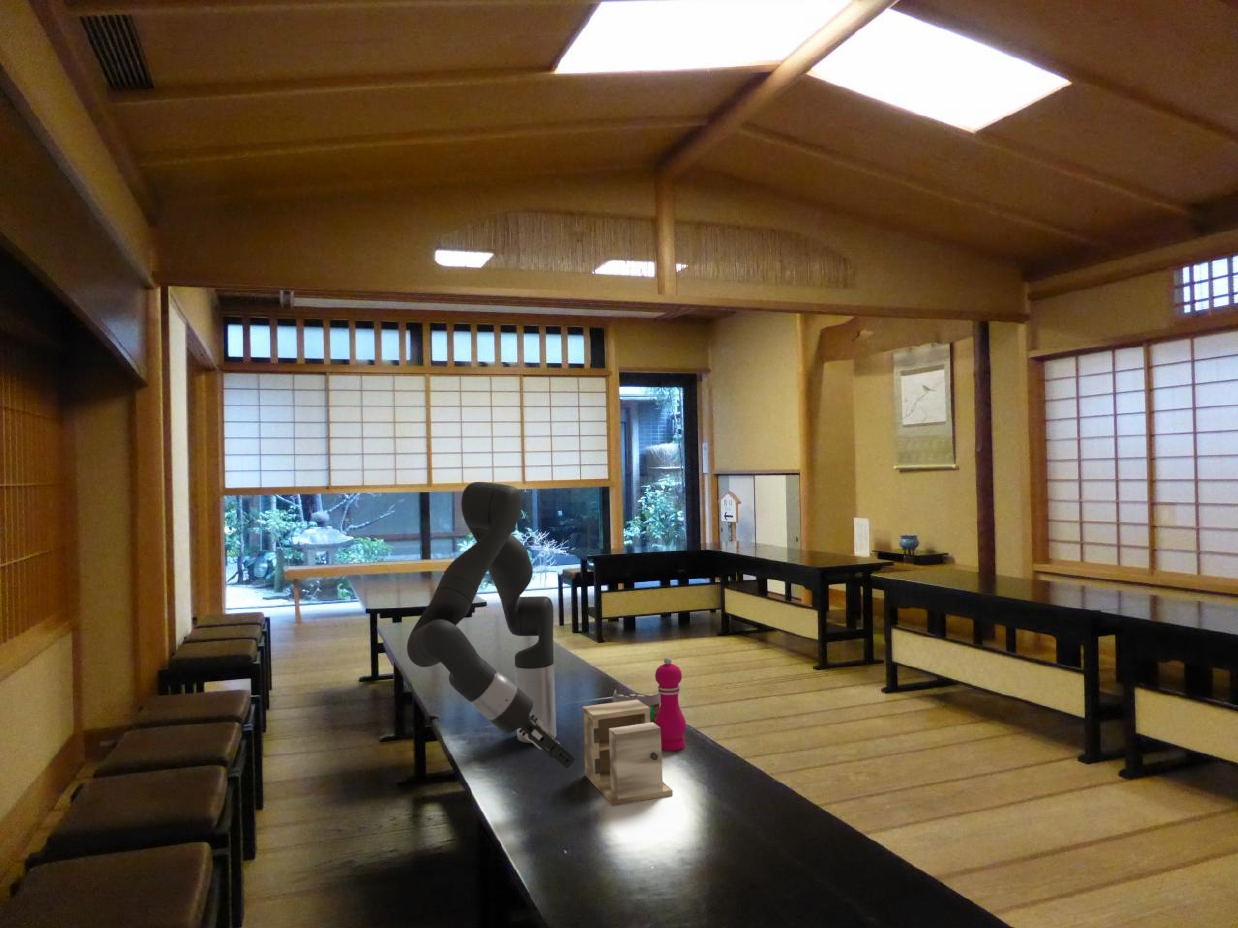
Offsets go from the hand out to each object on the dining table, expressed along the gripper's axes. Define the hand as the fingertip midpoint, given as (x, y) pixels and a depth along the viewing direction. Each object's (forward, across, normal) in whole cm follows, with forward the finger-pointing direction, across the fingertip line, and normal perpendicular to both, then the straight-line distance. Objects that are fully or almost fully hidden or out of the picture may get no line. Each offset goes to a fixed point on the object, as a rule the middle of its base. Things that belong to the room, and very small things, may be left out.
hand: (564, 756), depth 153 cm
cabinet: (+17, +7, -3) cm, 19 cm away
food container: (+26, +34, -12) cm, 45 cm away
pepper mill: (+29, +24, -15) cm, 41 cm away
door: (+16, 0, -4) cm, 17 cm away
